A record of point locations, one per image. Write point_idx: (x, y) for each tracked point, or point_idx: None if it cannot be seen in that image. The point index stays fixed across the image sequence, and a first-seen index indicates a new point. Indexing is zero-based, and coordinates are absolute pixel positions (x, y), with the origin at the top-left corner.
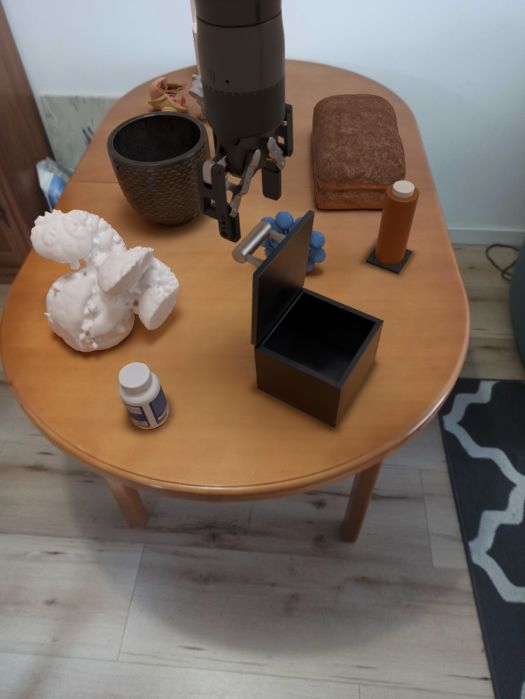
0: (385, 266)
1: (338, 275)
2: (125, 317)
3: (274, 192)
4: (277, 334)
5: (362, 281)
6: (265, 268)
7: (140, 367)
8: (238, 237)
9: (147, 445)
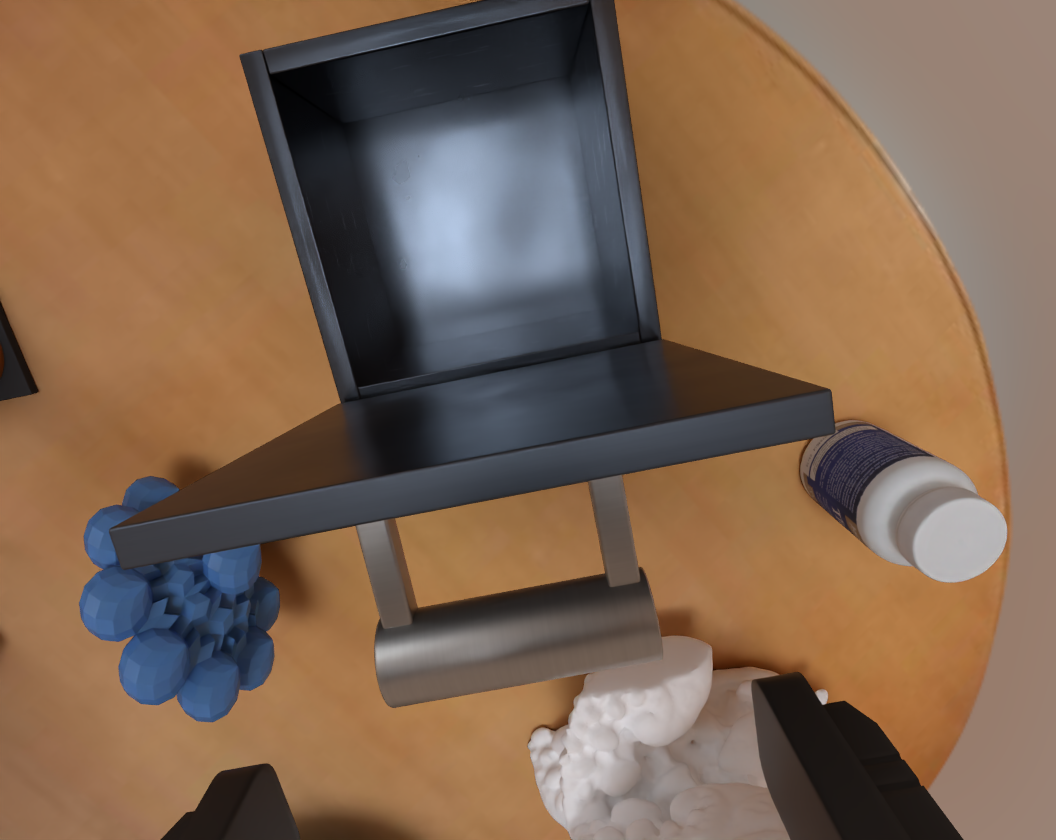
0: (1, 330)
1: (149, 418)
2: (712, 713)
3: (247, 835)
4: (537, 343)
5: (108, 348)
6: (745, 408)
7: (930, 547)
8: (800, 694)
9: (913, 402)
